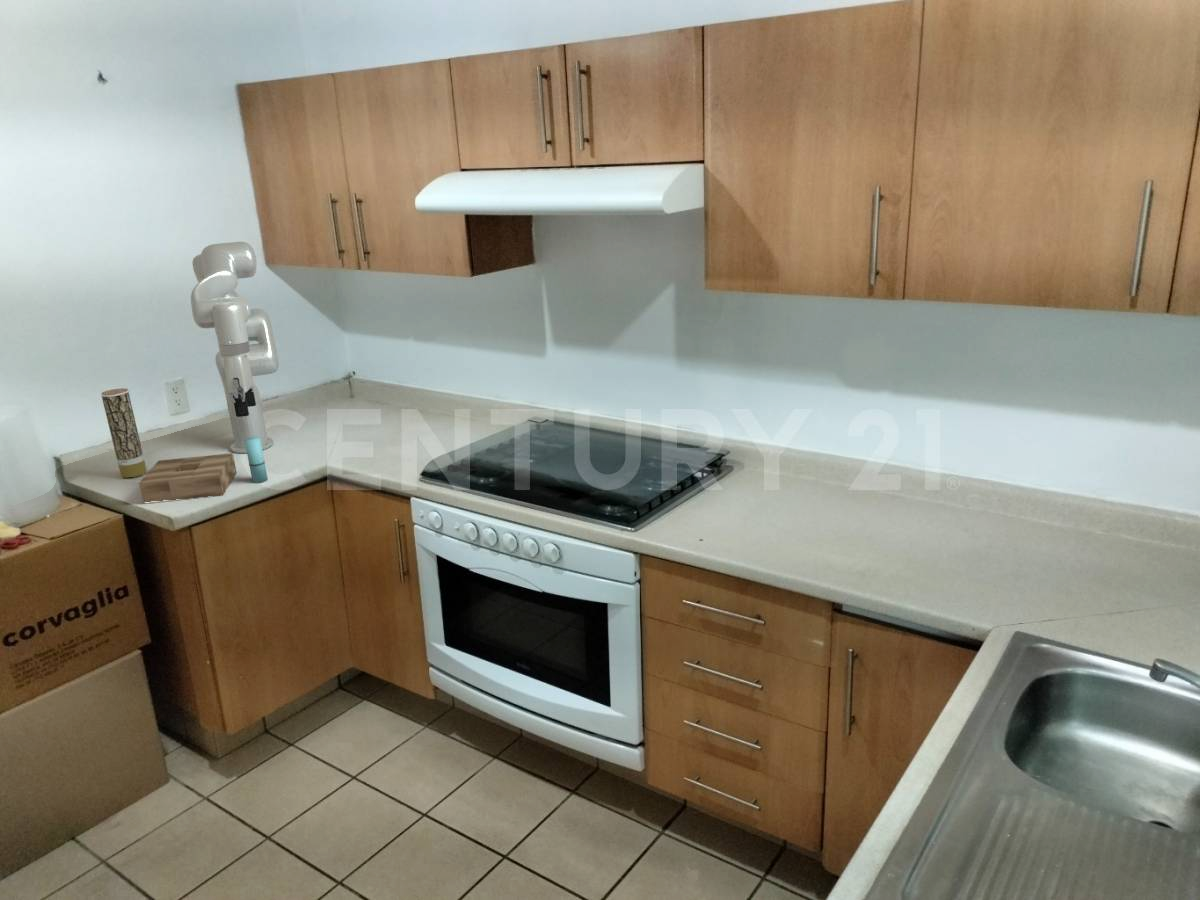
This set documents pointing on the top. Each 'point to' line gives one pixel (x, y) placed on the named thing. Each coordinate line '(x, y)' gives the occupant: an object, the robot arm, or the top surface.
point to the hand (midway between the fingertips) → (246, 411)
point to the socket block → (188, 478)
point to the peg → (256, 460)
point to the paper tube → (124, 432)
